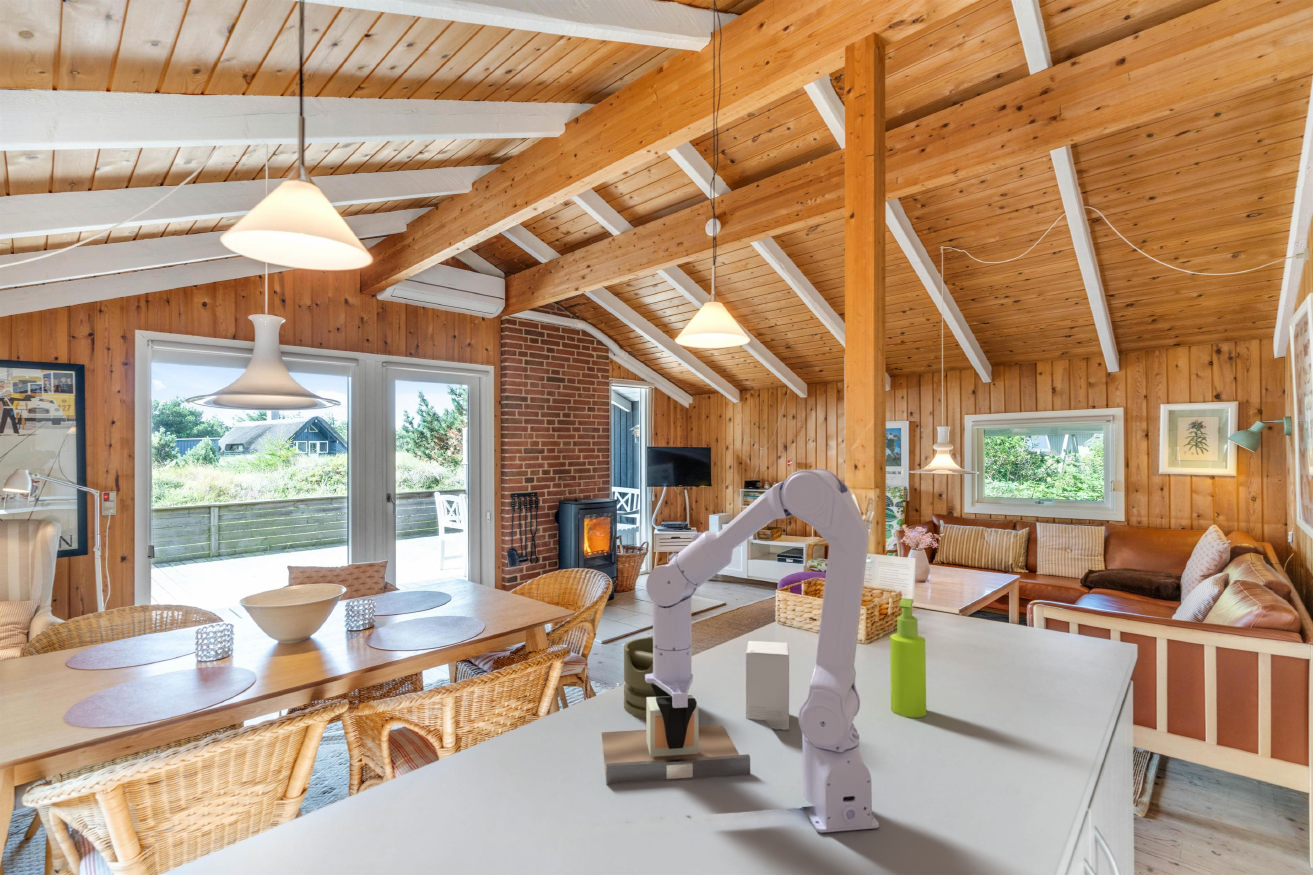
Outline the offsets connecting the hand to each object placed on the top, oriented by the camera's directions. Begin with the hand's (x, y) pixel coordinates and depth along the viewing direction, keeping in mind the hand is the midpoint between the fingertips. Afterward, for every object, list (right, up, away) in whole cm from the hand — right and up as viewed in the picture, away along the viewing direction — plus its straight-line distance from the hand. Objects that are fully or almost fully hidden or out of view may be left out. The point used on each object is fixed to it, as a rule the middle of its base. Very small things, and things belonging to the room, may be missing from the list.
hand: (672, 737), depth 91 cm
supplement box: (+17, -5, +16) cm, 24 cm away
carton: (0, -1, 0) cm, 1 cm away
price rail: (+1, -3, -6) cm, 7 cm away
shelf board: (0, -4, +2) cm, 5 cm away
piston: (-3, -5, +19) cm, 20 cm away
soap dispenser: (+43, -5, +20) cm, 47 cm away
